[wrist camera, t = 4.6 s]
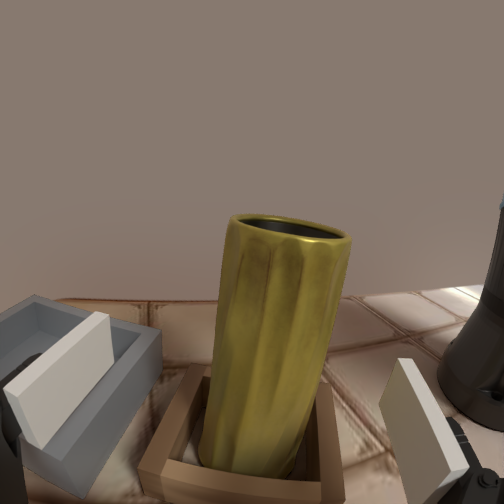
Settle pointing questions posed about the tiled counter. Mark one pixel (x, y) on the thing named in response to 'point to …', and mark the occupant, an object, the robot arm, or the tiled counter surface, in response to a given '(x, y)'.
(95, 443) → the tray
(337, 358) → the tiled counter surface
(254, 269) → the vase
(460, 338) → the robot arm
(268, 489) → the socket
